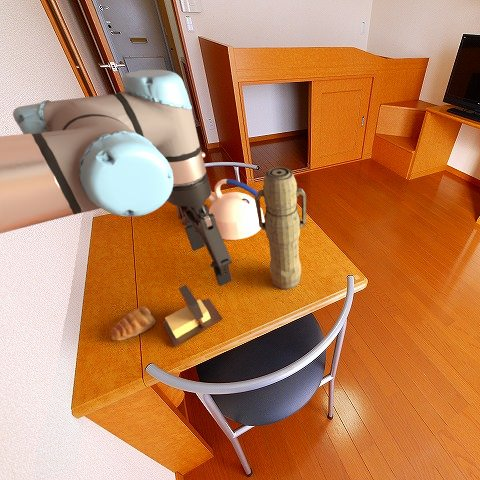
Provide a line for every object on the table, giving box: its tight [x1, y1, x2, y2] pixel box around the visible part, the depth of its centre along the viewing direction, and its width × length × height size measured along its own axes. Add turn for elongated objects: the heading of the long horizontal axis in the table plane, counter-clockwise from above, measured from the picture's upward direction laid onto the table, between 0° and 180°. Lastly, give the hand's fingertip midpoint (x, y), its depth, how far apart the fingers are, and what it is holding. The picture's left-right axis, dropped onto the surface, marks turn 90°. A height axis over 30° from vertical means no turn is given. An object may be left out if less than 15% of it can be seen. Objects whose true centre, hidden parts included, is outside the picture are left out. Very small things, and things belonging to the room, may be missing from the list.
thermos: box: [254, 166, 307, 291], centre depth 72 cm, size 9×12×35 cm
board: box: [162, 297, 223, 348], centre depth 70 cm, size 12×8×1 cm, turn 131°
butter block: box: [164, 305, 200, 338], centre depth 68 cm, size 6×5×3 cm
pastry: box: [109, 306, 156, 342], centre depth 68 cm, size 9×7×4 cm
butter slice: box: [196, 298, 211, 323], centre depth 70 cm, size 2×5×3 cm, turn 41°
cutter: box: [178, 284, 204, 327], centre depth 68 cm, size 2×7×9 cm, turn 41°
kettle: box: [207, 178, 265, 241], centre depth 97 cm, size 20×21×18 cm
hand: (211, 264), depth 61 cm, fingers open, 13 cm apart
